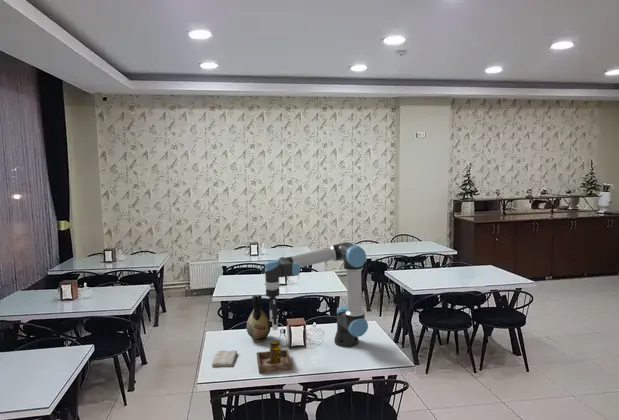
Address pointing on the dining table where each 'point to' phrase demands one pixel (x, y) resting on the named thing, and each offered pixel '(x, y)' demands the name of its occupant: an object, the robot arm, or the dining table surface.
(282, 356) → the tray
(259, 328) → the ceramic jug
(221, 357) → the washcloth
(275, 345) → the condiment
